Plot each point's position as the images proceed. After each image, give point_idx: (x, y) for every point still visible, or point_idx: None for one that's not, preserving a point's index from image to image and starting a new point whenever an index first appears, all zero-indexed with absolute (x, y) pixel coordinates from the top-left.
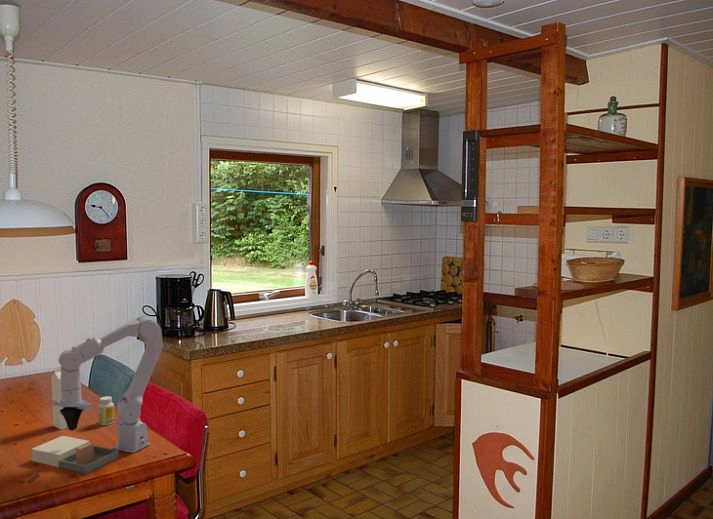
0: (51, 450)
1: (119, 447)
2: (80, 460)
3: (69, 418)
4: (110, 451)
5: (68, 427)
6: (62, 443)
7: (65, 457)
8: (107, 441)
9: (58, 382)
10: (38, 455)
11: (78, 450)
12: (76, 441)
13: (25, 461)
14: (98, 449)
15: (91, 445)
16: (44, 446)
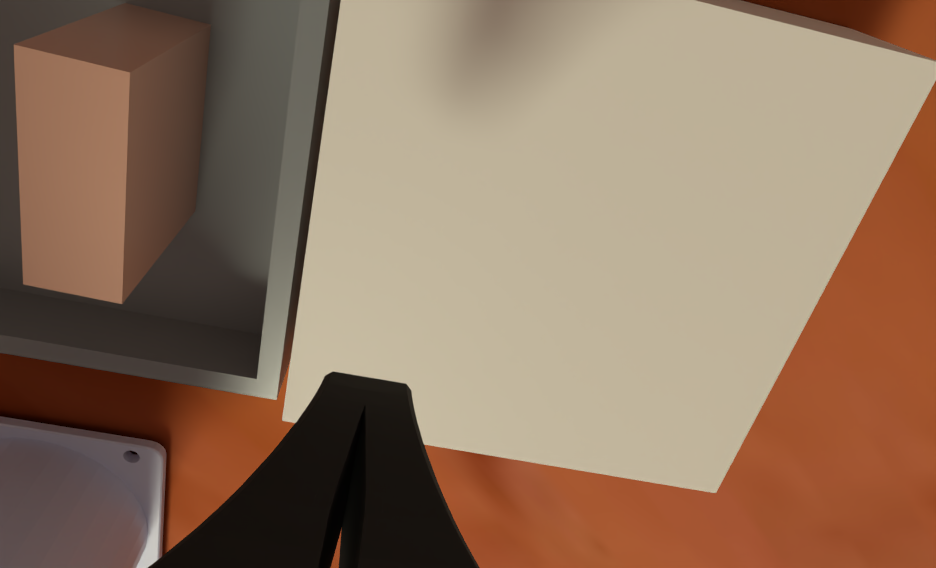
0: (594, 63)
1: (58, 452)
2: (113, 15)
3: (258, 548)
4: None
5: (393, 407)
6: (582, 307)
7: (327, 3)
8: (337, 559)
9: None
10: (775, 15)
11: (83, 52)
12: (438, 384)
13: (931, 4)
14: (167, 345)
15: (30, 243)
16: (781, 177)
